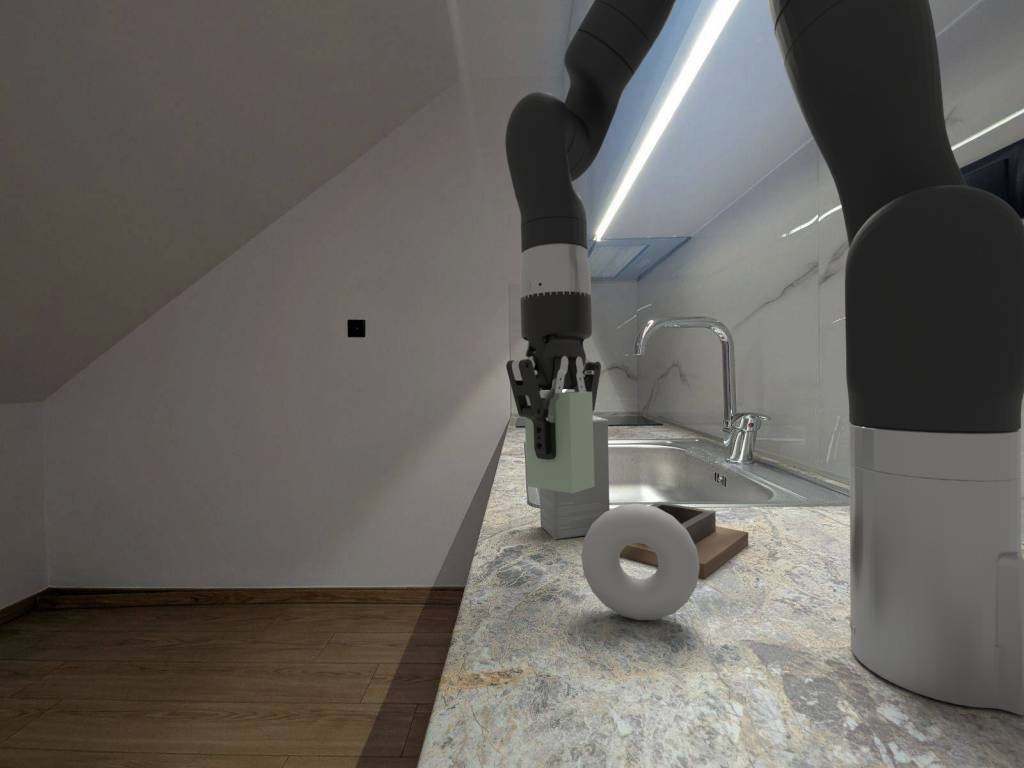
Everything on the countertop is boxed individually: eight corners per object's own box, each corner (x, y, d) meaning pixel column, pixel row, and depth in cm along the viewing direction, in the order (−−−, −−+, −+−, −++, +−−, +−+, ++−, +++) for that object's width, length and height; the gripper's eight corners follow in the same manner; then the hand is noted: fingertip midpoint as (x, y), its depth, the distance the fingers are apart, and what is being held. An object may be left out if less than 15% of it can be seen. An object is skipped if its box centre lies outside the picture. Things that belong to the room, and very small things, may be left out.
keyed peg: (594, 486, 52) (592, 391, 52) (572, 493, 49) (569, 393, 49) (549, 480, 56) (547, 392, 56) (526, 486, 53) (524, 393, 53)
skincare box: (591, 521, 72) (590, 413, 72) (613, 536, 65) (612, 417, 65) (536, 526, 70) (535, 415, 70) (553, 542, 63) (552, 419, 63)
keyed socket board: (748, 544, 61) (748, 512, 61) (704, 578, 51) (704, 540, 51) (645, 522, 71) (645, 495, 71) (591, 548, 60) (590, 516, 60)
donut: (698, 615, 43) (697, 502, 43) (702, 635, 40) (701, 512, 40) (584, 603, 46) (583, 496, 46) (579, 620, 42) (578, 505, 42)
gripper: (540, 280, 44) (545, 469, 44) (620, 297, 55) (625, 450, 55) (482, 292, 50) (487, 462, 49) (566, 306, 60) (570, 446, 60)
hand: (559, 455), depth 52 cm, fingers closed on keyed peg, 4 cm apart
